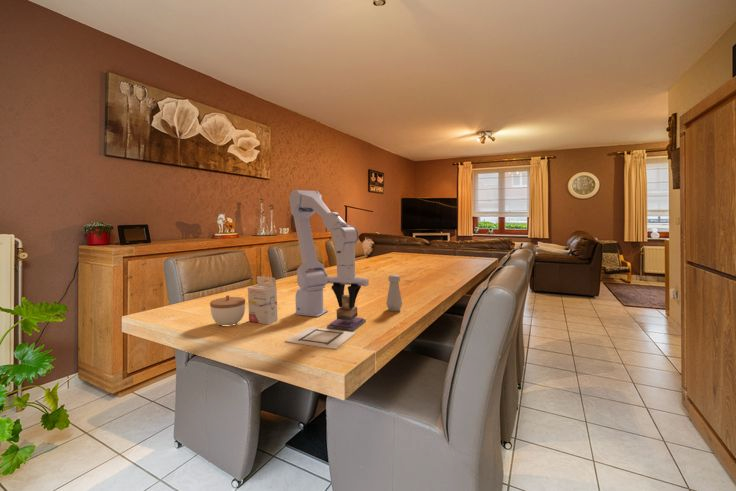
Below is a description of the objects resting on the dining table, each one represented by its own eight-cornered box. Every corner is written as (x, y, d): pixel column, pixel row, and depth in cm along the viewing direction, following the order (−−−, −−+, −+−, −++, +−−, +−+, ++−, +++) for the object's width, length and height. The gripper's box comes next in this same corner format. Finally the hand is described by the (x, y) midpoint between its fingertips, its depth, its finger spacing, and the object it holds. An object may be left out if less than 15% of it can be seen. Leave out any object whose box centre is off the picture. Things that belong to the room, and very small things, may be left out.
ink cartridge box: (248, 321, 117) (246, 278, 116) (258, 317, 121) (256, 275, 120) (268, 325, 113) (266, 280, 112) (278, 320, 118) (276, 277, 116)
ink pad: (327, 328, 110) (326, 323, 110) (341, 319, 119) (341, 315, 119) (353, 331, 106) (353, 326, 106) (365, 321, 116) (365, 317, 115)
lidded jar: (252, 319, 119) (251, 292, 118) (233, 330, 109) (232, 300, 108) (224, 318, 122) (223, 291, 121) (203, 327, 111) (202, 298, 110)
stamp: (336, 319, 111) (336, 297, 110) (343, 314, 116) (342, 293, 115) (351, 320, 109) (350, 298, 109) (357, 315, 114) (356, 294, 113)
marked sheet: (284, 341, 98) (284, 340, 98) (309, 327, 110) (309, 326, 110) (336, 349, 92) (336, 347, 92) (355, 333, 104) (355, 332, 104)
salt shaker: (401, 312, 126) (401, 276, 125) (385, 311, 127) (385, 276, 126) (402, 308, 132) (402, 273, 131) (387, 307, 133) (387, 273, 132)
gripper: (372, 263, 112) (372, 305, 113) (331, 262, 117) (332, 302, 118) (363, 267, 105) (364, 311, 107) (321, 265, 111) (322, 307, 112)
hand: (346, 306), depth 112 cm, fingers closed on stamp, 3 cm apart
